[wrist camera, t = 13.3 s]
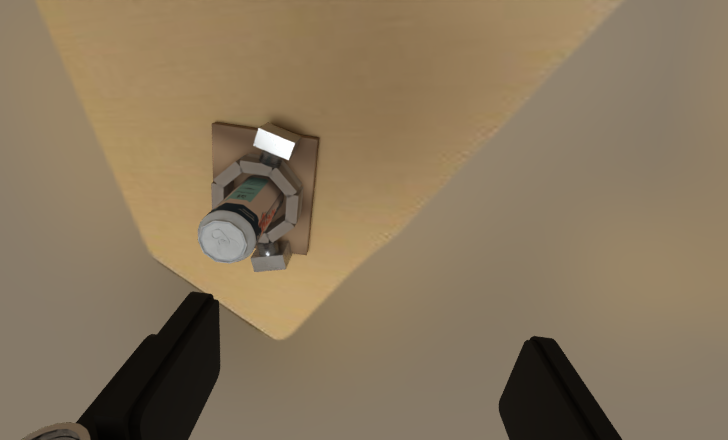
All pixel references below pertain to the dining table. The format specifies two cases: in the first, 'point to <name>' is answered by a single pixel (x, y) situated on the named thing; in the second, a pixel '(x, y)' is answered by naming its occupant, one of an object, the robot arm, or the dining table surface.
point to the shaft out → (271, 256)
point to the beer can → (240, 220)
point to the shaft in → (275, 144)
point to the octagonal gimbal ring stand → (293, 177)
